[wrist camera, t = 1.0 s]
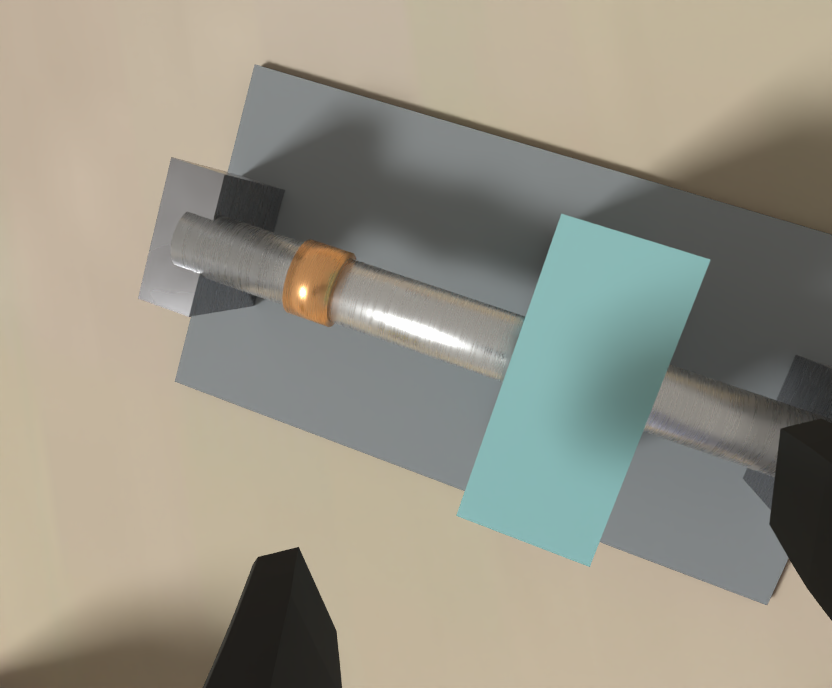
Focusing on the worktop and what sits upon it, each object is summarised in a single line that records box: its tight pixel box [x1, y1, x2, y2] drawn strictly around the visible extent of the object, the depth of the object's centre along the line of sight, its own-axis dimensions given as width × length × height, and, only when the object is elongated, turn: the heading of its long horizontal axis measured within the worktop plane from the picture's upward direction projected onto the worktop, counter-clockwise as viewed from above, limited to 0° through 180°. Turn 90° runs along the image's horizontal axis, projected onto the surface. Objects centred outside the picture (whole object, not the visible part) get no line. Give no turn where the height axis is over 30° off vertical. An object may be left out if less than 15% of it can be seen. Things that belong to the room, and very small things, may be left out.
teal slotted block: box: [456, 214, 710, 567], centre depth 17 cm, size 3×7×7 cm, turn 162°
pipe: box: [138, 157, 832, 510], centre depth 19 cm, size 20×4×5 cm, turn 72°
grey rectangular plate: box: [175, 65, 832, 605], centre depth 21 cm, size 21×11×1 cm, turn 72°
